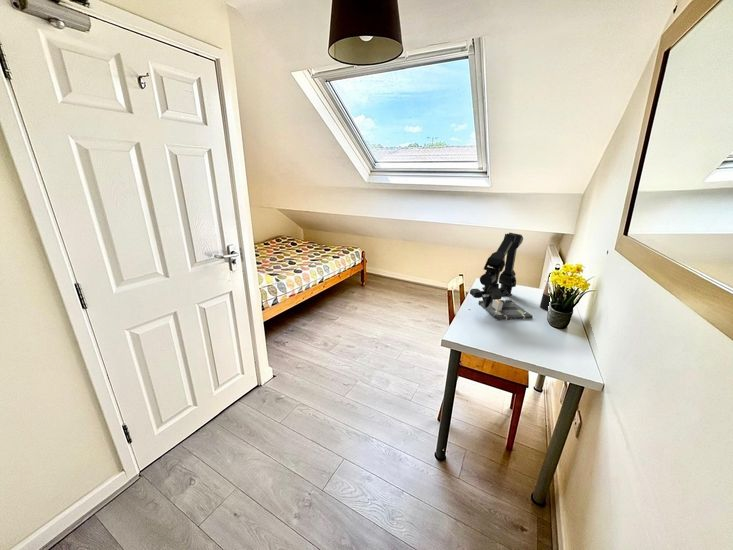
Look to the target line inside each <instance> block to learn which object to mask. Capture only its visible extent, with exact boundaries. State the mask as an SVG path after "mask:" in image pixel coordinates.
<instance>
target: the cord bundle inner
mask: <svg viewBox="0 0 733 550" xmlns="http://www.w3.org/2000/svg"><path fill="white" fill-rule="evenodd" d="M500 301H501V302H514V300H512V299H500ZM481 303H483V300H478V303H477V304H478V305H479V306H480V305H481ZM491 303H493V300H492V302H491Z"/></svg>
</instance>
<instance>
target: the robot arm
mask: <svg viewBox="0 0 733 550" xmlns="http://www.w3.org/2000/svg"><path fill="white" fill-rule="evenodd" d="M523 240H524V237H523V234H520V233H519V234H518V233H513V232H508V233H505V234H504V237H503V240H502V241H501V243H500V244H499V247H498V248H497V250H496V251H495V252H492V254H490V255H489V256H488V258H487V259H486V262H485V265H484V267H483V271H485V273H484V274H482V275H480V277H479V282H480V284H481V285H483V286H482V290H481V289H480V288H471V289H470V290H469V294H470V295H471V297H473V298H475V299H481V298H482V301H483V303H484V306H485V308H487V307H488V306H489V304H490V303H491V302H492V300H496V299H499V300H502V298H509V296H510V297H511V296H513V293H512V290H513V288H515V287H517V278H516V272H515V270H514V268H515V261H516V257H517V250H518V248H520V246H521V245H522V243H523V242H524V241H523Z"/></svg>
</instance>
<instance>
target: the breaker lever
mask: <svg viewBox="0 0 733 550" xmlns="http://www.w3.org/2000/svg"><path fill="white" fill-rule="evenodd" d="M500 300H501V299H500ZM500 300H499V299H496V300H493V303H492V307H493V308H494V309H496V310H497V311H501V309H502V305H503V303H502V302H501V301H500Z"/></svg>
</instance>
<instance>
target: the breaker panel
mask: <svg viewBox="0 0 733 550" xmlns="http://www.w3.org/2000/svg"><path fill="white" fill-rule="evenodd" d="M502 303H503V305H502V309H501V311H497V310H496V309H494V308H493V307H492V303H490V304H489V306H488V307H487V308H485V306H484V303H481V305H479V306H480V307H481V308H483V309H484V310H485V311H486V312H487V313H488V314H489V315H490V316H492V317H493V319H495V318H496V316H504V315H506V316H507V315H522V314H523V315H530V314H531V313H529V312H528V311H527V310H525V309H524V308H522V307H521V306H520V305H519V304H517V303H515V301H513V302H502Z"/></svg>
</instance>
